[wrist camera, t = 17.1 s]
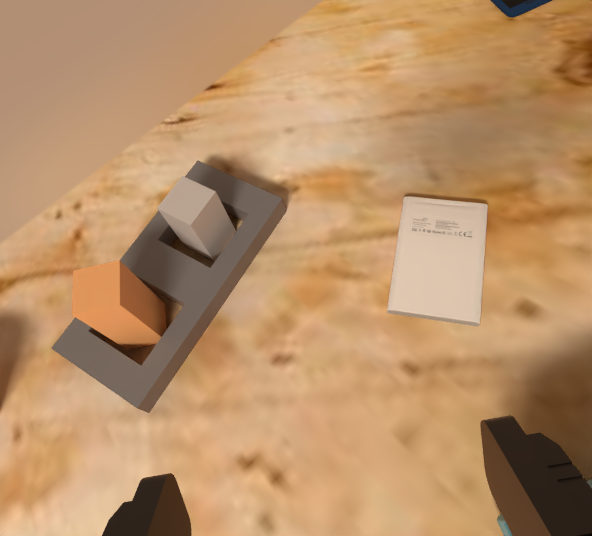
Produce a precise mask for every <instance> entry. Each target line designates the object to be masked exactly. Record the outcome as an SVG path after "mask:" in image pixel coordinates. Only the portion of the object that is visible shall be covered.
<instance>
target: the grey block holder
mask: <svg viewBox="0 0 592 536" xmlns="http://www.w3.org/2000/svg"><path fill="white" fill-rule="evenodd" d="M157 209H158V210H159V211H158V212H157V213H156V215H155V216H154V217H153V219H152V220H151V221H150V222H149V224H148V225H147V226H146V227H145V229H144V230H143V231H142V233H141V234H140V235H139V236H138V238H137V239H136V240H135V242H134V243H133V244H132V245H131V247H130V248H129V249H128V251H127V252H126V253H125V254H124V256H123V257H122V258H121V260H120V261H121V262H122V263H123V264H124V265H125V266H126V267H127V268H128V269H129V270H130V271H131V272H132V273H133V274H134V275H135V276H136V277H138V278H139V279H140V280H141V281H142V282H143V283H144V284H145V285H147V286H148V287H150V288H152V289H154V290H155V291H157V292H159V293H160V294H162V295H164V296H166V297H167V298H169V299H171V300H172V301H174V302H176V303H178V304H179V305H181V306H183V307H182V309H181V310H180V312H179V313H178V315H177V316H176V317H175V319H174V320H173V322H172V323H171V324H170V326H169V327H168V329H167V330H166V331H165V333H164V334H163V336H162V337H161V339H160V340H159V341H158V343H157V344H156V346H155V347H154V348H153V350H152V351H151V353H150V354H149V355H148V357H147V358H146V360H145V361H144V363H143V364H142V365H140V364H139V363H137V362H136V361H134V360H133V359H131V358H130V357H128V356H126V355H125V354H123V353H122V352H120V351H119V350H117V349H116V348H114V347H113V346H111V345H110V344H108V343H107V342H105V341H104V340H102V339H101V338H102V337H103V334H102V333H100V332H98V331H97V330H95V329H93V328H92V327H90V326H89V325H87V324H85V323H84V322H82V321H81V320H79V319H77V318H76V317H75V318H74V320H73V321H72V322H71V324H70V325H69V326H68V327H67V329H66V330H65V331H64V333H63V334H62V335H61V336H60V338H59V339H58V340H57V342H56V343H55V344H54V345H53V347H52V349H53V350H54V351H56V352H57V353H59V354H60V355H62V356H63V357H64V358H66V359H67V360H69V361H70V362H72V363H73V364H75V365H76V366H77V367H79V368H80V369H82V370H83V371H85V372H86V373H87V374H89V375H90V376H92V377H93V378H95V379H96V380H97V381H99V382H100V383H102V384H103V385H105V386H106V387H107V388H109V389H110V390H112V391H113V392H115V393H116V394H118V395H119V396H120V397H122V398H123V399H125V400H126V401H128V402H129V403H130V404H132V405H133V406H135V407H136V408H138V409H140V410H143V411H145V412H148V413H149V412H150V411H151V409H152V408H153V406H154V405H155V403H156V402H157V400H158V399H159V397H160V396H161V395H162V393H163V392H164V390H165V389H166V387H167V386H168V384H169V383H170V381H171V380H172V378H173V377H174V375H175V374H176V372H177V371H178V370H179V368H180V367H181V365H182V364H183V362H184V361H185V359H186V358H187V356H188V355H189V353H190V352H191V350H192V349H193V348H194V346H195V345H196V343H197V342H198V340H199V339H200V337H201V336H202V334H203V333H204V331H205V330H206V328H207V327H208V325H209V324H210V323H211V321H212V320H213V318H214V317H215V315H216V314H217V312H218V311H219V309H220V308H221V306H222V305H223V303H224V302H225V301H226V299H227V298H228V296H229V295H230V293H231V292H232V290H233V289H234V287H235V286H236V284H237V283H238V281H239V280H240V278H241V277H242V276H243V274H244V273H245V271H246V270H247V268H248V267H249V265H250V264H251V262H252V261H253V259H254V258H255V256H256V255H257V254H258V252H259V251H260V249H261V248H262V246H263V245H264V243H265V242H266V240H267V239H268V237H269V236H270V234H271V233H272V231H273V230H274V229H275V227H276V226H277V224H278V223H279V221H280V220H281V218H282V217H283V215H284V214H285V212H286V209H285V206H284V202H283V199H282V198H280V197H278V196H276V195H274V194H272V193H269V192H267V191H265V190H263V189H260V188H258V187H256V186H254V185H251V184H249V183H247V182H245V181H243V180H240V179H238V178H236V177H234V176H231V175H229V174H227V173H225V172H222V171H220V170H218V169H216V168H214V167H211V166H209V165H207V164H205V163H202V162H200V161H197V162H196V163H195V165H194V166H193V167H192V169H191V170H190V171H189V172H188V174H187V175H186V176H185V177H184V176H182V177H181V178H180V180H179V181H178V182H177V183H176V185H175V186H174V187H173V188H172V190H171V191H170V192H169V194H168V195H167V196H166V197H165V199H164V200H163V201H162V203H161V204H160V205H159V206H158V208H157ZM227 213H228V214H230V215H232V216H234V217H236V218H238V219H240V220H242V221H243V223H242V224H241V226H240V227H239V228H238V230H237V231H236V230H235V228H234V226H233V224H232V222H231V220H230V218H229V216H228V214H227ZM235 232H236V233H235ZM177 237H179V239H180V240H181V241H182V243H183V244H184V246H186V247H188V248H190V249H192V250H193V251H195V252H197V253H199V254H201V255H203V256H205V257H207V258H209V259H211V260H212V261H214V264H213V265H212V267H211V268H209V267H208V266H206V265H204V264H202V263H200V262H198V261H196V260H195V259H193V258H191V257H189V256H187V255H185V254H183V253H181V252H180V251H178V250H176V249H174V248H172V247H170V246H171V245H172V244H173V242H174V241H175V240H176V238H177ZM230 239H231V240H230ZM228 242H229V243H228ZM225 246H226V247H225ZM223 249H224V250H223ZM220 253H221V254H220ZM218 256H219V257H218ZM215 260H216V261H215Z"/></svg>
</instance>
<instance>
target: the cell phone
mask: <svg viewBox="0 0 592 536" xmlns="http://www.w3.org/2000/svg"><path fill="white" fill-rule="evenodd" d="M491 1H492V2H493V3H494V4H495V5H496V6H497V7H498V8H499V9H500V10H501V11H502V12H503V13H504V14H505V15H507V16H508V17H516V16H519V15H521V14H523V13H525V12H528V11H530V10H532V9H534V8H537V7H539V6H541V5H543V4H546V3H548V2H550V1H552V0H491Z"/></svg>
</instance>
